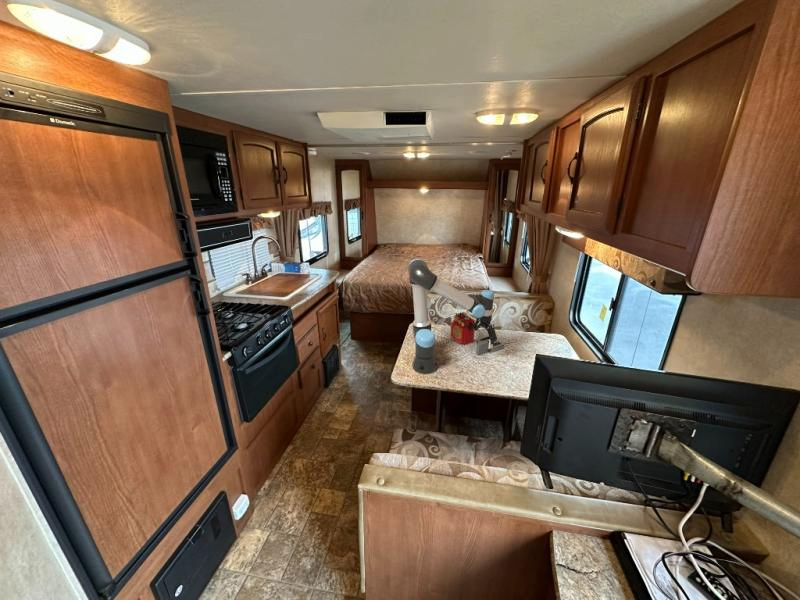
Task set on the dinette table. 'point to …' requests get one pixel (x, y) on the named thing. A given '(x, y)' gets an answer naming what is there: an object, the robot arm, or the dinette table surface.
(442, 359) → the dinette table surface
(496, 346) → the rack
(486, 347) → the panel
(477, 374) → the dinette table surface
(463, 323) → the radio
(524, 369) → the dinette table surface
